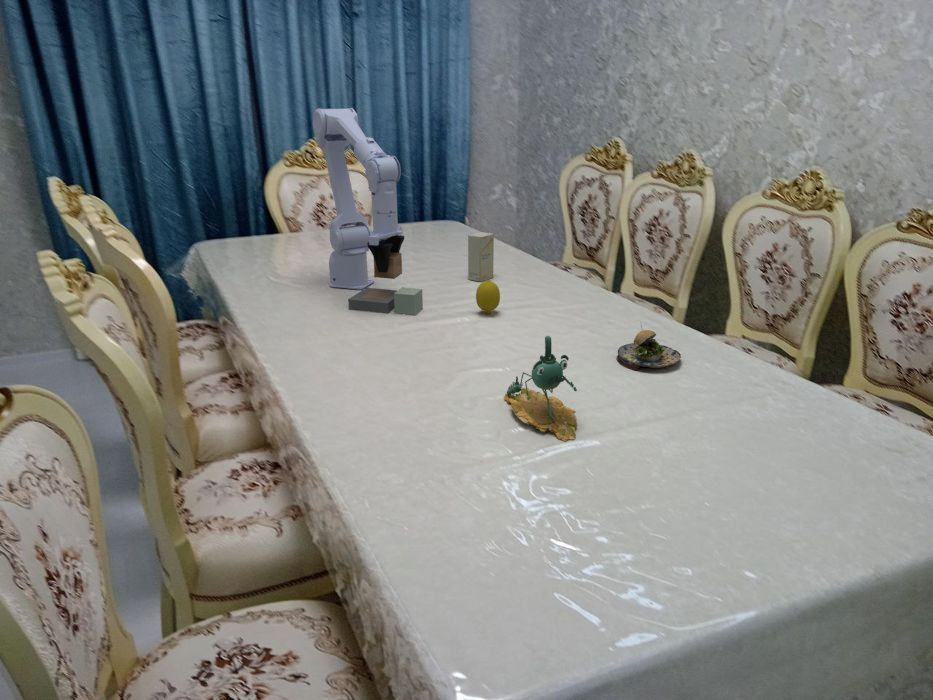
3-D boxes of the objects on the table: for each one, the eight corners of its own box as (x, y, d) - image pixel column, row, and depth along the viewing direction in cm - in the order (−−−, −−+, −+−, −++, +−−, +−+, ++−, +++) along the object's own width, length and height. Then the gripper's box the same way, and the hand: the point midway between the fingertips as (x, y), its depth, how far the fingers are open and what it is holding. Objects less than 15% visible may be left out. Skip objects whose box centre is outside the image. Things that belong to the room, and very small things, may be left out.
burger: (635, 377, 120) (639, 338, 117) (605, 353, 130) (608, 318, 128) (693, 370, 123) (698, 332, 120) (659, 348, 133) (663, 312, 130)
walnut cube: (374, 277, 156) (373, 256, 154) (382, 271, 161) (381, 251, 159) (394, 278, 155) (393, 258, 153) (402, 273, 159) (401, 253, 158)
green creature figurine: (541, 388, 115) (551, 311, 108) (596, 447, 100) (611, 361, 94) (491, 397, 112) (497, 317, 105) (540, 458, 97) (552, 371, 90)
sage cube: (394, 314, 153) (393, 293, 151) (403, 307, 157) (402, 287, 155) (414, 316, 151) (414, 295, 150) (422, 309, 156) (422, 289, 154)
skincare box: (480, 282, 177) (480, 237, 172) (467, 279, 179) (467, 235, 175) (494, 277, 181) (494, 233, 177) (481, 274, 184) (481, 231, 179)
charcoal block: (348, 311, 156) (348, 299, 155) (367, 299, 165) (366, 287, 164) (387, 315, 153) (387, 303, 152) (404, 303, 162) (404, 291, 161)
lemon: (471, 315, 152) (471, 281, 149) (482, 308, 156) (482, 275, 153) (493, 318, 149) (493, 284, 146) (503, 311, 154) (504, 278, 151)
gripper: (388, 218, 145) (391, 278, 150) (412, 207, 158) (414, 262, 163) (359, 216, 147) (362, 275, 152) (385, 205, 159) (387, 260, 165)
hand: (387, 269), depth 157 cm, fingers closed on walnut cube, 5 cm apart
